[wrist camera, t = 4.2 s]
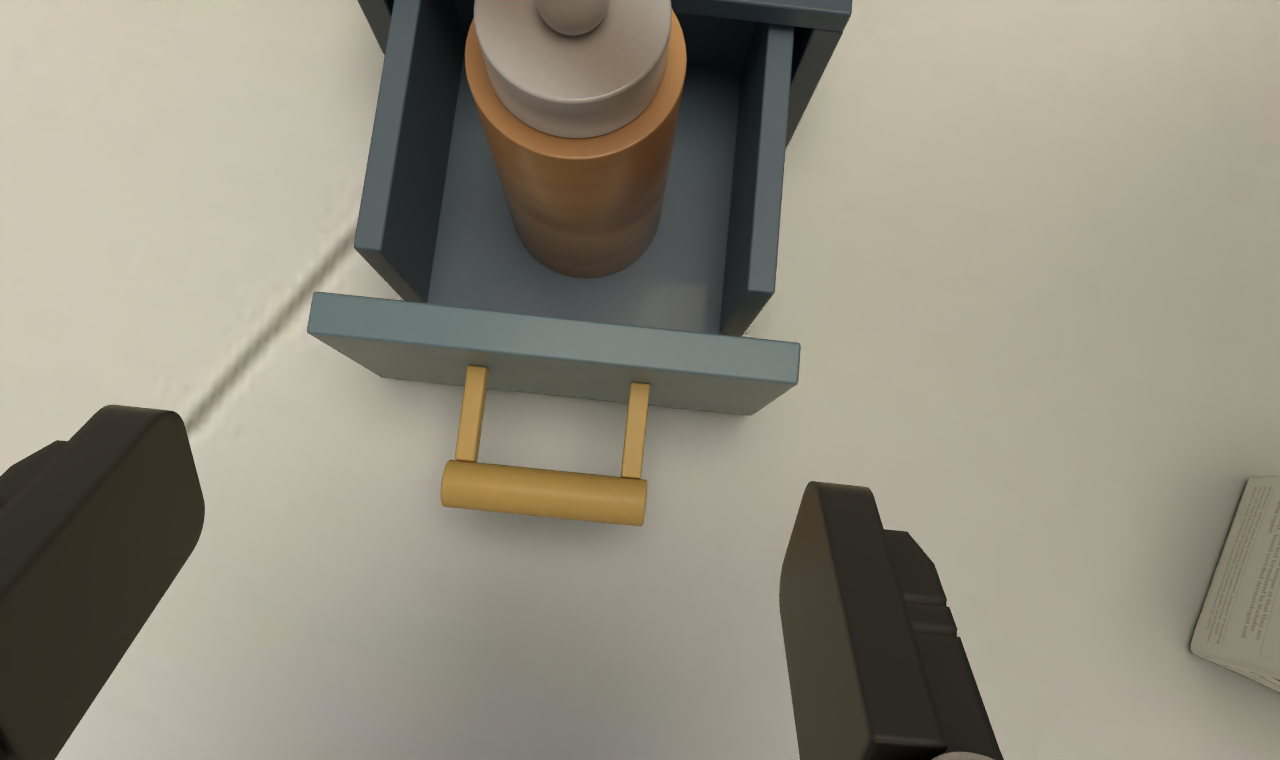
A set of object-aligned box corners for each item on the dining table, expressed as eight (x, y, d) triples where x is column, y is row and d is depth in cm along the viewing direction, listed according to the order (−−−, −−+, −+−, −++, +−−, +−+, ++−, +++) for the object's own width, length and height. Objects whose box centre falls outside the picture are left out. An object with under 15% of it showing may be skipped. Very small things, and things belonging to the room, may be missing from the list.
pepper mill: (574, 109, 30) (550, -190, 17) (690, 195, 30) (752, -46, 17) (481, 218, 30) (382, -12, 17) (599, 308, 29) (592, 145, 16)
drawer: (742, 535, 29) (787, 542, 22) (361, 496, 29) (278, 491, 22) (778, 74, 32) (828, -55, 25) (432, 35, 32) (380, -108, 25)
